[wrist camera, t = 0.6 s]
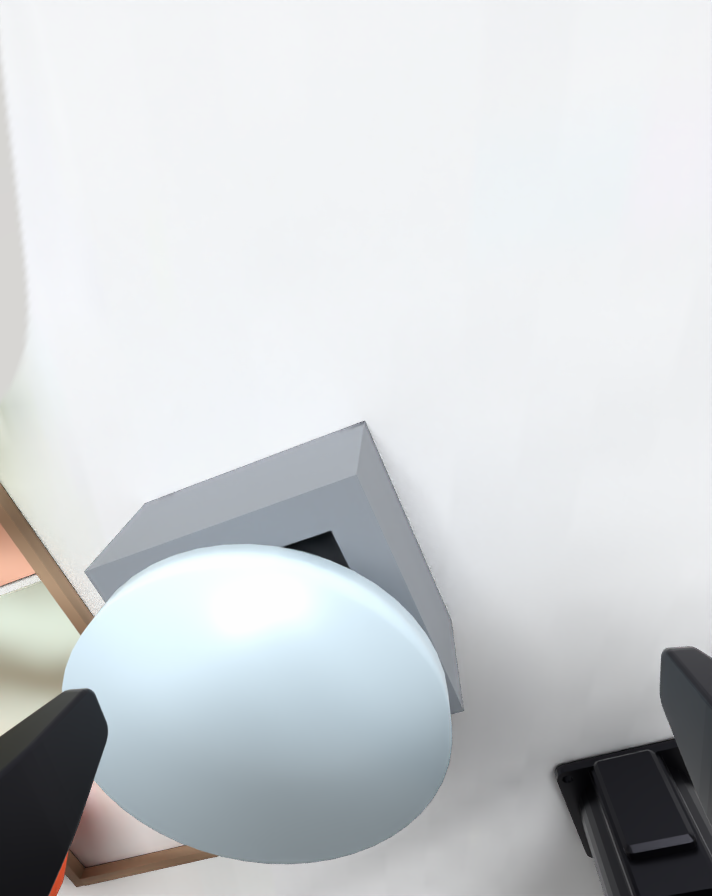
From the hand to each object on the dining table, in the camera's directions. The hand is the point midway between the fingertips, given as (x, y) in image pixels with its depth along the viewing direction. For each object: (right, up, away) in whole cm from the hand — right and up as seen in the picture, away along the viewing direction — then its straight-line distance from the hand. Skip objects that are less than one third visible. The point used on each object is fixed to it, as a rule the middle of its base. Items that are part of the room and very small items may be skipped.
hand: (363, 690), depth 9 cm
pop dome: (-3, -3, +12) cm, 13 cm away
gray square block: (-2, -1, +15) cm, 16 cm away
